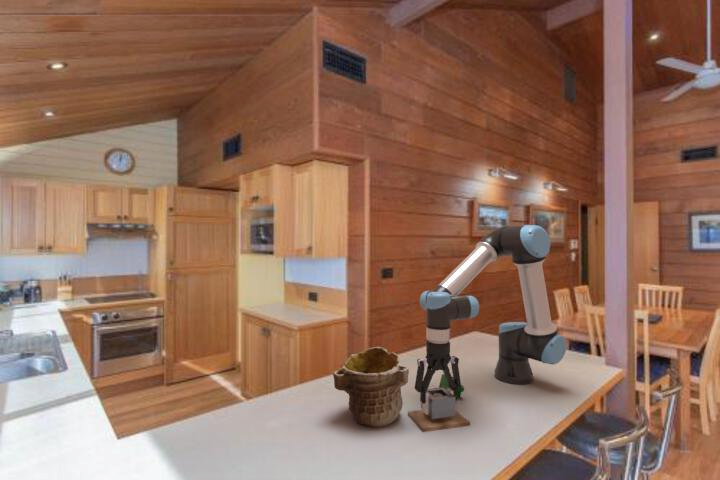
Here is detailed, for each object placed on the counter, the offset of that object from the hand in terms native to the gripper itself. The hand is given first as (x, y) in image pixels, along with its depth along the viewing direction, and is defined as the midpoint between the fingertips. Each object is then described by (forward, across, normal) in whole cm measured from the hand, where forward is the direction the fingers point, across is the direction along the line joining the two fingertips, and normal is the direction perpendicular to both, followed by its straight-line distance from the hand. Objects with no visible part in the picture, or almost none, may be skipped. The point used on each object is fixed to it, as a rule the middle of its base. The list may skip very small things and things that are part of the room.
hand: (438, 411), depth 126 cm
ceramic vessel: (+3, +21, -7) cm, 22 cm away
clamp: (+3, -14, -17) cm, 23 cm away
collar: (0, 0, 0) cm, 0 cm away
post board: (+3, 0, 0) cm, 3 cm away
